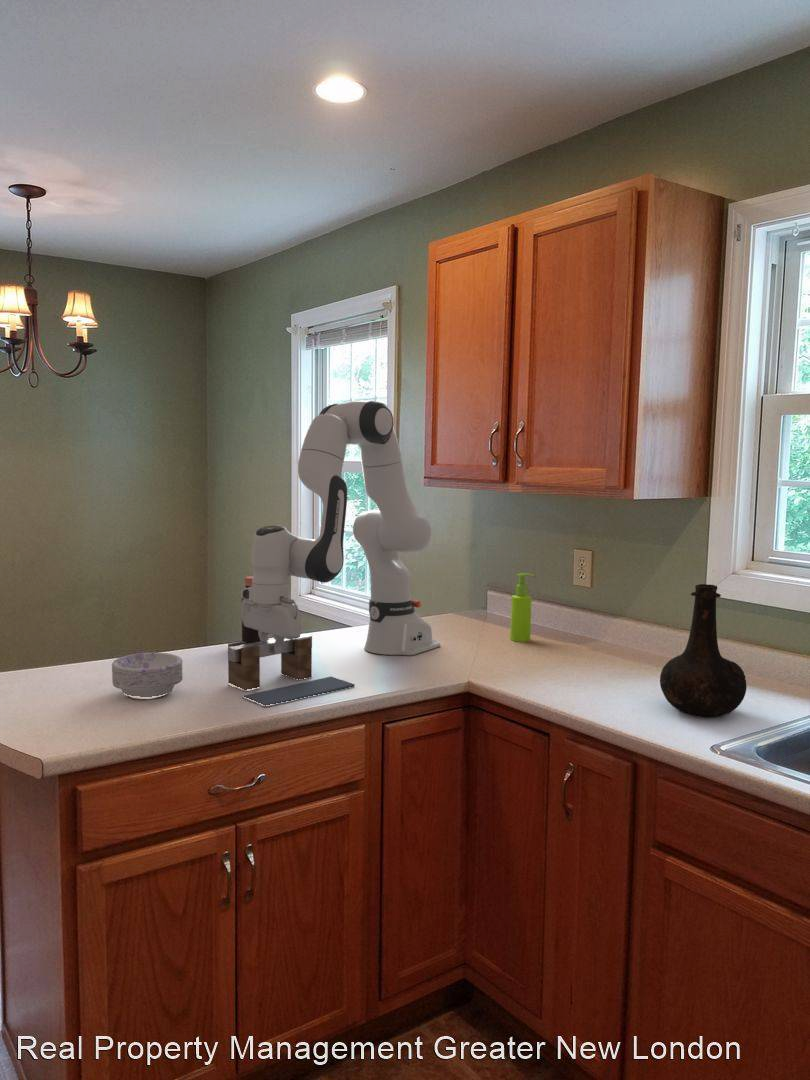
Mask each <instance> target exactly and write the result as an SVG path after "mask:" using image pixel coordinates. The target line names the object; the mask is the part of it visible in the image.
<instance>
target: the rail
mask: <svg viewBox="0 0 810 1080" xmlns="http://www.w3.org/2000/svg"><path fill="white" fill-rule="evenodd" d="M303 637H311V638H312V639H313V635H310V634H308V633H301V635H300V637H299V638H303ZM295 639H297V638H295ZM295 639H284V642H283V644H282V651H281V653H287V652H292V651H295ZM274 643H275V639H274V638H273V639H269V640H266V641H260V642H255V643H249V644H243V645H238V646H232V647H228V646H227V660H230V661H233V662H240V661H241V648H245V647H250V646H259V647H260V658H264V657H265V658H266V657H270V656H275V655H281V653H277V654H276V653H273V652H272V645H274Z"/></svg>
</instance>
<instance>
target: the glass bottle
mask: <svg viewBox="0 0 810 1080" xmlns="http://www.w3.org/2000/svg"><path fill="white" fill-rule="evenodd" d="M694 587H695V590H694V591H693V592H691V593H690V596H692V597H694V603H693V604H694V605H693V611H692V612H693V613H692V620H691V625H690V630H689V636H688V640H687V644H686V646H685V649H684V650H683V652H682V653H681V654H679V655H677V656H675V657H673V658H671V659H669V661H667V662H666V663H665V665H663V667H662V669H661V672H660V677H659V685H660V689H661V692H662V693H663V696H664V698H665V699H666V701H667V702H668V703H669V704H670V705H671V706H672V707H673V708H675V709H676V710H677V711H678V712H679V711H680V713H682V714H686V715H689V716H691V717H699V718H706V719H707V718H708V719H709V718H710V719H711V718H720V717H724V716H726V715H729V714H730V713H733V712H734V711H735V710H736V709H737V708H738V707H739V706H740V705H741V704H742V703H743V700H744V699H745V696H746V693H747V679H746V675H745V671H744V670H743V669H742V667H741V666H740V665H739V664H737V663H736V662H734V661H732V660H729V659H727V658H724V657H723V656H722V654H721V653H720V649H719V643H718V633H717V631H718V630H717V598H721V597H722V595H721V594H720V593H718V592H717V590H718V585H715V584H705V583H703V584H695V585H694Z"/></svg>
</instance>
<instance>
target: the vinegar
mask: <svg viewBox="0 0 810 1080" xmlns="http://www.w3.org/2000/svg"><path fill="white" fill-rule="evenodd" d="M253 576H254V575H251V576H250V575H248V576H245V577H244V586H245V589H246V588H249V587H252V579H253ZM242 601H243V598H242V597H241V602H242ZM241 641H244V642H246V644H249V643H255V642H260V641H261V640H260V638H259V635H258V630H255V629H252V628H248V627H245V626H244V624H243V621H242V620H241Z"/></svg>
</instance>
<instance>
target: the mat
mask: <svg viewBox="0 0 810 1080" xmlns="http://www.w3.org/2000/svg"><path fill="white" fill-rule="evenodd" d="M354 686H355V687H356V685H355V683H352V682H350V681H346V680H343V679H340V678H337V677H334V676H328V677H322V678H317V679H313V680H309V681H304V682H299V683H295V684H290V685H285V686H281V687H277V688H272V689H266V690H262V691H259V692H253V693H249V694H244V695H242V697H243V696H244V697H246V698H249V699H251V700H254V701H256V702H258V703H261V704H263V705H265V706H266V705H270V704H276V703H281V702H286V701H291V700H295V699H300V698H304V697H308V696H313V695H317V696H319V695H318V694H321V695H323V694H322V693H326V694H328V693H327V692H330V693H333V692H332V691H334V692H337V691H336V690H339V691H342V690H341V689H343V690H346V689H345V688H347V689H350V688H349V687H351V688H354ZM313 697H314V696H313ZM304 699H305V698H304ZM300 700H301V699H300Z"/></svg>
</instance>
